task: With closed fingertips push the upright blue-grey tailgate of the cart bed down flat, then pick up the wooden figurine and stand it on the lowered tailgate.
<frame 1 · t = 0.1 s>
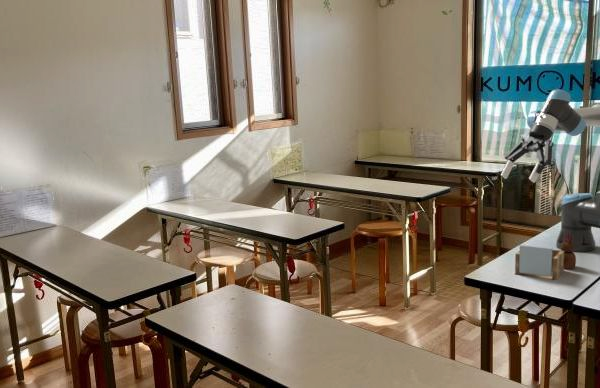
hand: (517, 178, 214), 36 cm above the table, tool tilted 35°, fingers open, 13 cm apart
wooden figurine: (566, 271, 221), on the table
cart bed: (539, 276, 216), on the table
tailgate: (535, 260, 210), point 7 cm above the table, hinge at 0.0°
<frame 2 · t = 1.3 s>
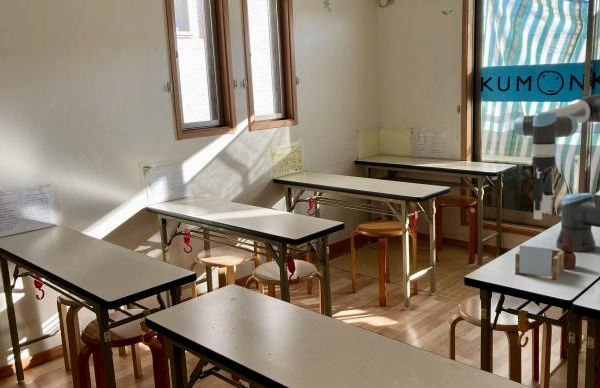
hand: (542, 216, 214), 22 cm above the table, tool pointing down, fingers open, 11 cm apart
nothing on the table moved.
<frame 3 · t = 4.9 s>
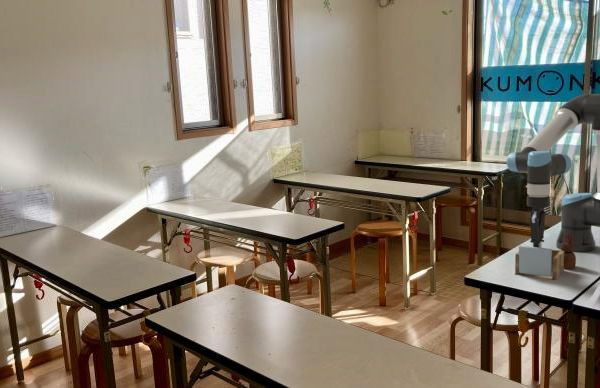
hand: (536, 259, 212), 7 cm above the table, tool pointing down, fingers closed
tailgate: (535, 260, 209), point 7 cm above the table, hinge at 5.5°, touching gripper
everything else where it was.
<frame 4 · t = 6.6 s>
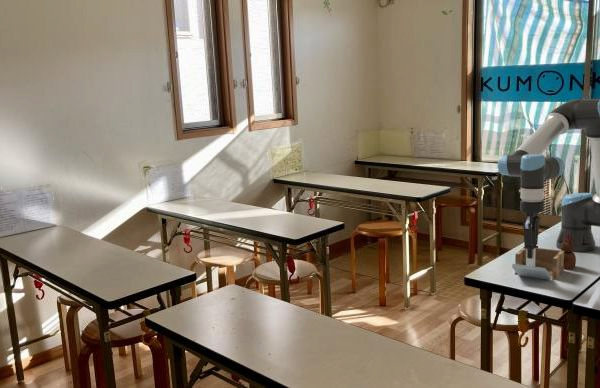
hand: (530, 266, 205), 7 cm above the table, tool pointing down, fingers closed
tailgate: (531, 271, 206), point 5 cm above the table, hinge at 57.6°, touching gripper
everything else where it was.
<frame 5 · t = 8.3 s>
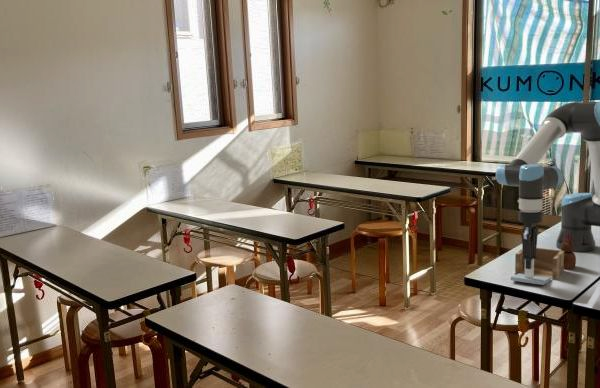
hand: (529, 277, 204), 4 cm above the table, tool pointing down, fingers closed
tailgate: (530, 278, 206), point 2 cm above the table, hinge at 81.6°
everything else where it was.
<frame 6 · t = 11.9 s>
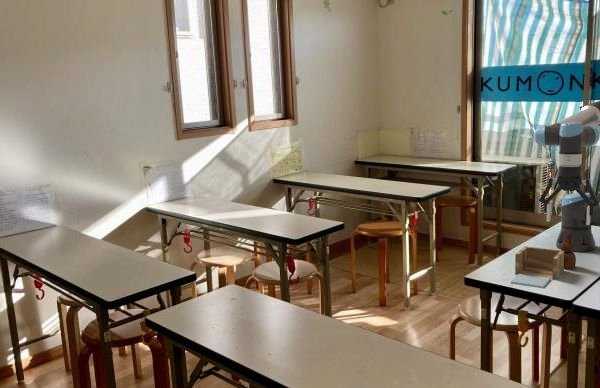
hand: (567, 222, 217), 18 cm above the table, tool pointing down, fingers open, 13 cm apart
tailgate: (530, 281, 206), point 1 cm above the table, hinge at 90.0°
everything else where it was.
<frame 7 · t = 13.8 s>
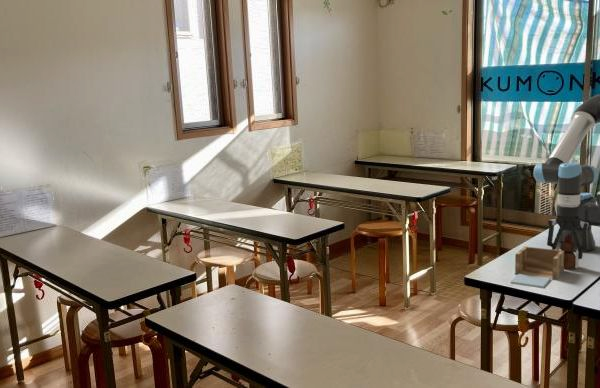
hand: (566, 265, 220), 2 cm above the table, tool pointing down, fingers closed on wooden figurine, 6 cm apart
wooden figurine: (566, 271, 221), on the table, touching gripper
everything else where it was.
when the fingers open (6 cm above the table, at t = 20.6 s): wooden figurine drops 2 cm, resting on tailgate.
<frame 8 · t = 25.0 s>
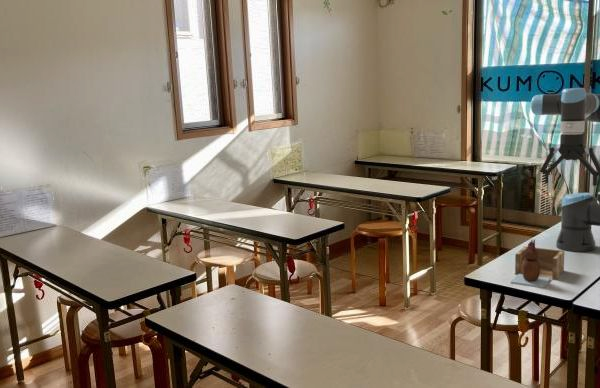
hand: (570, 193, 208), 31 cm above the table, tool pointing down, fingers open, 13 cm apart
wooden figurine: (530, 280, 206), point 2 cm above the table, touching tailgate
tailgate: (530, 281, 206), point 1 cm above the table, hinge at 90.1°, touching wooden figurine
at the end: tailgate at +90° (first picture: +0°); wooden figurine inside the target area (0.5 cm from its centre), point 1.9 cm above the table; wooden figurine tilted 0° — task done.
